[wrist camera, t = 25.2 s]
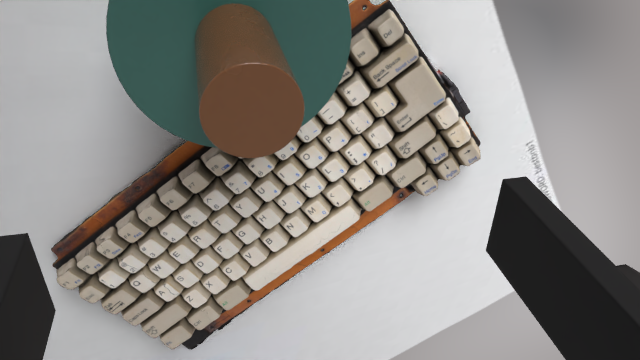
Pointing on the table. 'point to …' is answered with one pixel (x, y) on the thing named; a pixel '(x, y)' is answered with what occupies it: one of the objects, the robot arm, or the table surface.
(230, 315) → the mechanical keyboard
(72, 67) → the table surface
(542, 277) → the robot arm
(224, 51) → the lid
